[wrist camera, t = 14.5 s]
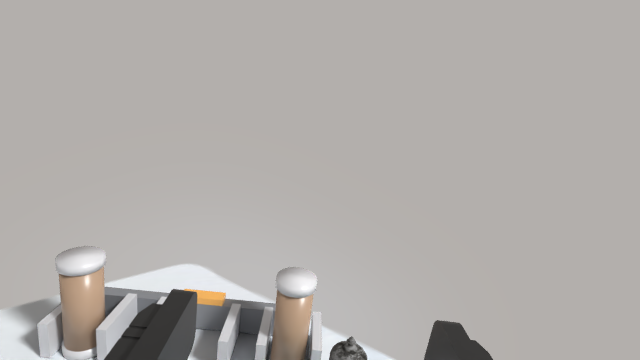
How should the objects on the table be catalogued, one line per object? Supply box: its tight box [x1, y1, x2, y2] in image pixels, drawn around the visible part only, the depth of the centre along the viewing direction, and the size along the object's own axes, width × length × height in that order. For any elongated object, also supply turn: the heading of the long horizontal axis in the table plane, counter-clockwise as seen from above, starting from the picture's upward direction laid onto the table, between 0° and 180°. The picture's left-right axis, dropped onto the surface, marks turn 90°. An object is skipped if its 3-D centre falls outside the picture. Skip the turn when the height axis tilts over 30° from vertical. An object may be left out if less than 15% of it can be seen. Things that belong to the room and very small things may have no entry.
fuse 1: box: [55, 246, 106, 360], centre depth 38 cm, size 4×4×11 cm
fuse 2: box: [269, 267, 317, 360], centre depth 38 cm, size 4×4×11 cm
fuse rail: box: [37, 287, 322, 360], centre depth 39 cm, size 29×12×4 cm, turn 90°
